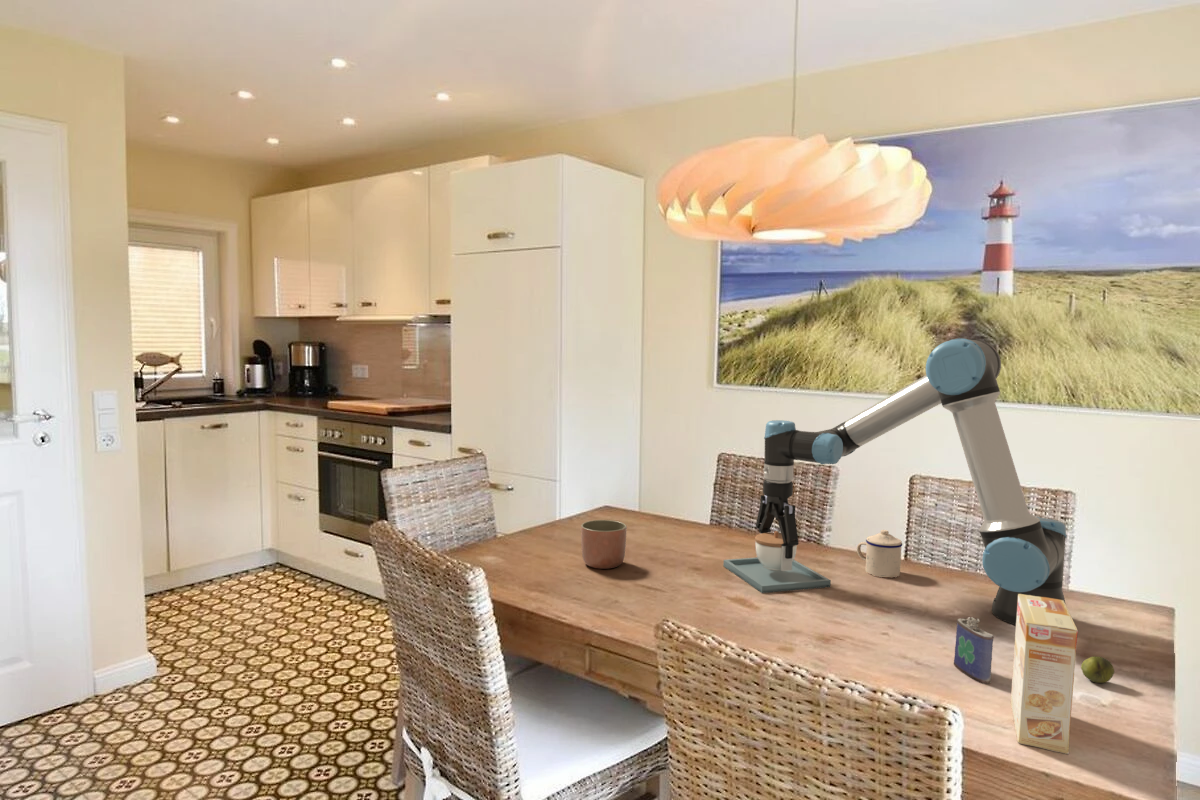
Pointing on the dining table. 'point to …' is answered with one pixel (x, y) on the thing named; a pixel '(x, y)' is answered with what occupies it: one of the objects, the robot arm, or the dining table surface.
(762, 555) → the lidded jar
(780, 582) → the tray
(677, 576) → the dining table surface
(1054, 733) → the coffeecake box
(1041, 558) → the robot arm
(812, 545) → the dining table surface
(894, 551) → the teacup with lid
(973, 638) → the flask
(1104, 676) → the lime
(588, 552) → the planter
